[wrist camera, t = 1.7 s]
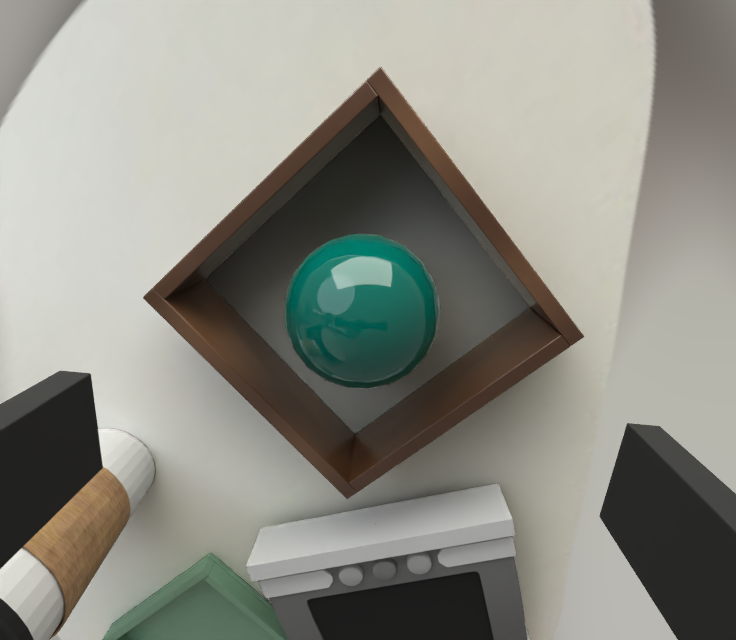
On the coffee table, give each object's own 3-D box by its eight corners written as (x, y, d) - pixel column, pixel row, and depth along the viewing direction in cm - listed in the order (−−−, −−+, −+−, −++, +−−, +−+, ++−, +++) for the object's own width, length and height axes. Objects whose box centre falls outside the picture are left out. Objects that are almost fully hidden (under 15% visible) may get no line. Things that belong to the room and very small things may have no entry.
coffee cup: (59, 501, 32) (-209, 760, 17) (53, 401, 29) (-268, 609, 15) (171, 520, 32) (-5, 794, 18) (174, 422, 29) (-29, 650, 15)
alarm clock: (512, 518, 26) (549, 708, 30) (493, 471, 30) (527, 642, 34) (245, 566, 27) (315, 739, 32) (265, 515, 32) (324, 673, 36)
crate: (186, 277, 26) (142, 297, 21) (382, 91, 23) (380, 65, 18) (353, 448, 29) (347, 499, 24) (548, 308, 26) (584, 336, 21)
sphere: (312, 212, 25) (278, 224, 17) (447, 242, 25) (474, 267, 17) (291, 339, 27) (253, 400, 19) (414, 365, 27) (425, 435, 20)
